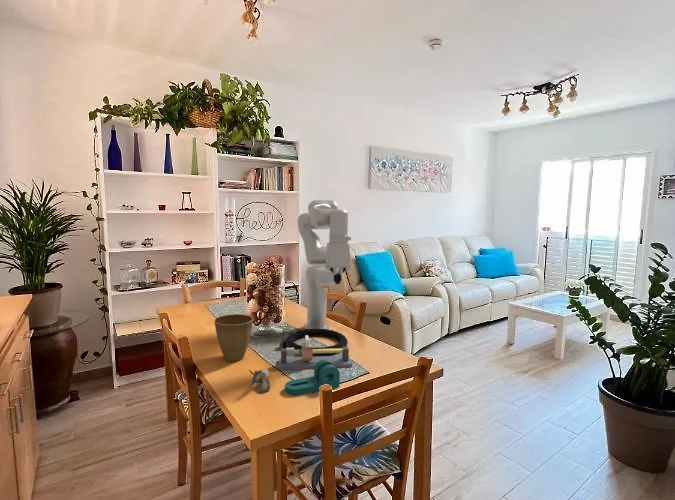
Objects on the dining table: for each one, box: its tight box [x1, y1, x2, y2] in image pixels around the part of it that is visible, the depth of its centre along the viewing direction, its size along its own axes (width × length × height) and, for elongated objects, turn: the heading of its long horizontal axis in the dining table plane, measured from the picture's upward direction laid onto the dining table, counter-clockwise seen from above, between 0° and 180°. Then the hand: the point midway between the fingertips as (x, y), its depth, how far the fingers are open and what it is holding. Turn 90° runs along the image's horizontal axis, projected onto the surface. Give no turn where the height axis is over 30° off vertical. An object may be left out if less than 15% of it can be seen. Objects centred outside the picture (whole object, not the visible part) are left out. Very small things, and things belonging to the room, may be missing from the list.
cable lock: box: [279, 328, 348, 357], centre depth 167 cm, size 28×4×30 cm
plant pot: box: [213, 313, 254, 362], centre depth 150 cm, size 15×15×16 cm
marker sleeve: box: [300, 335, 314, 361], centre depth 146 cm, size 5×4×8 cm
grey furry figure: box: [248, 367, 271, 395], centre depth 127 cm, size 8×7×9 cm
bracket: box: [284, 359, 341, 396], centre depth 127 cm, size 18×7×8 cm, turn 114°
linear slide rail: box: [278, 346, 353, 370], centre depth 147 cm, size 8×28×6 cm, turn 98°
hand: (337, 283), depth 158 cm, fingers closed
